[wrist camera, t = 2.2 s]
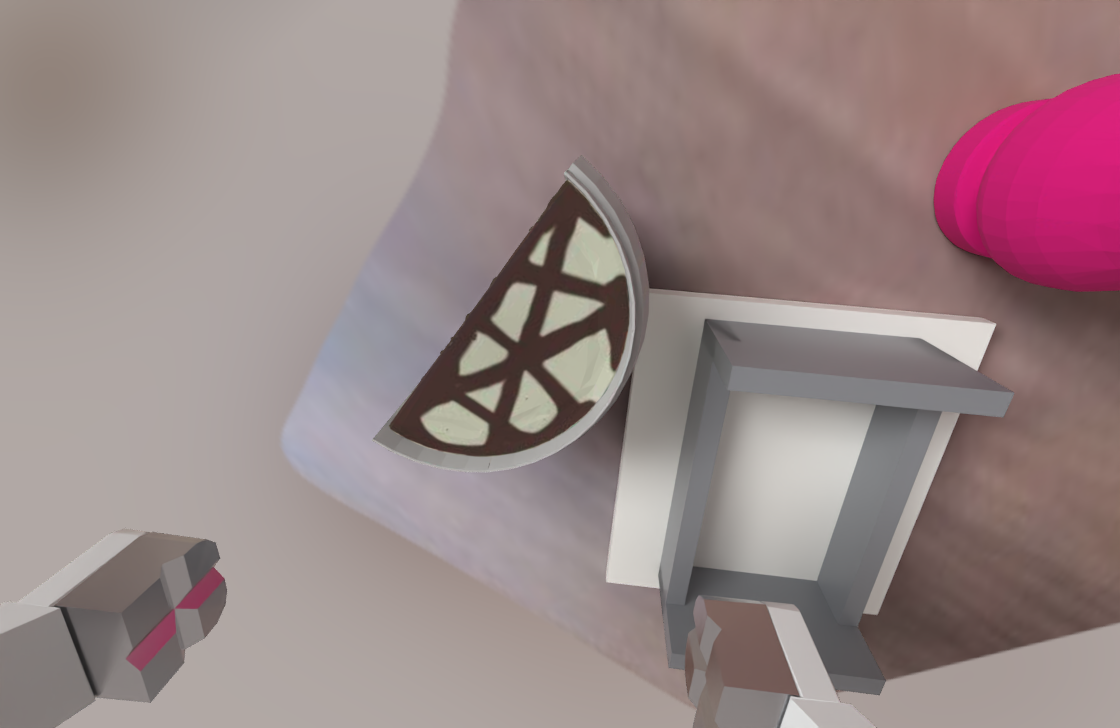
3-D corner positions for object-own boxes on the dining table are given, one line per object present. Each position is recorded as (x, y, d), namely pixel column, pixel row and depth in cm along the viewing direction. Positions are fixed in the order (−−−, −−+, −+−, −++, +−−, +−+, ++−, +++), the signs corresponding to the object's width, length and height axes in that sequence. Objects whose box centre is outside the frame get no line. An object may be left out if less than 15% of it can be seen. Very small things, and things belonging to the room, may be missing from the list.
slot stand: (981, 317, 24) (1115, 375, 18) (869, 601, 31) (937, 717, 25) (643, 287, 25) (655, 332, 19) (606, 569, 32) (605, 673, 26)
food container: (538, 417, 29) (503, 542, 19) (446, 352, 28) (364, 450, 18) (692, 240, 24) (742, 292, 15) (590, 155, 23) (577, 154, 14)
